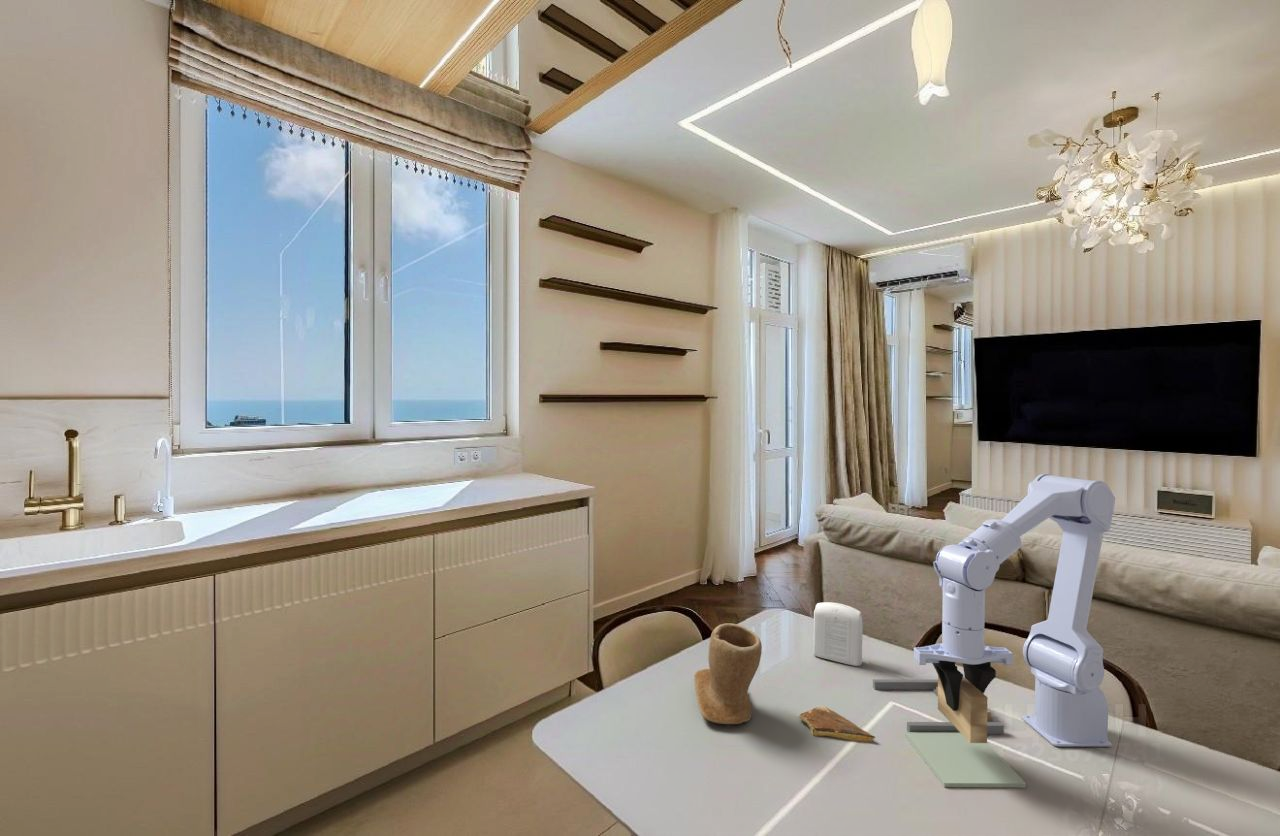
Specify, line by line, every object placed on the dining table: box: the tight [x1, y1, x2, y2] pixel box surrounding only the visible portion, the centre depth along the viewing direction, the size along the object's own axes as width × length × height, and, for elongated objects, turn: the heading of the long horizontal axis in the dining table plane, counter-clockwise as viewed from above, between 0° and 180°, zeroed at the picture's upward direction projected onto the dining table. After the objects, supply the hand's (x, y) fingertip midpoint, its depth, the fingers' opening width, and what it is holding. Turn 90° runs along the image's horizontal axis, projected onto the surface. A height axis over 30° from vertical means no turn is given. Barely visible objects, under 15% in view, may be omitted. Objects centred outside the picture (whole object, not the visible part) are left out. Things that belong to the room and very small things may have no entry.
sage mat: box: [904, 731, 1027, 788], centre depth 85 cm, size 12×12×1 cm
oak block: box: [937, 675, 988, 744], centre depth 84 cm, size 2×9×7 cm, turn 179°
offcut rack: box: [872, 678, 1005, 735], centre depth 98 cm, size 16×15×3 cm
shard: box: [798, 706, 876, 743], centre depth 92 cm, size 11×8×2 cm
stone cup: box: [693, 622, 763, 725], centre depth 100 cm, size 15×12×15 cm
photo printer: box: [812, 601, 864, 667], centre depth 117 cm, size 10×4×12 cm, turn 59°
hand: (961, 707), depth 84 cm, fingers closed on oak block, 2 cm apart
